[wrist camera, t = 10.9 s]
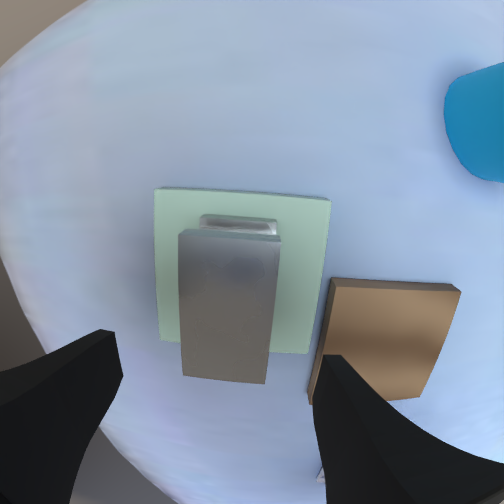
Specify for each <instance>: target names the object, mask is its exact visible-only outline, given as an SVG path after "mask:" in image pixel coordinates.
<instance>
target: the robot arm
mask: <svg viewBox="0 0 504 504" xmlns="http://www.w3.org/2000/svg"><path fill="white" fill-rule="evenodd" d="M122 378H123V372H122V368H121V363H120V358H119V353H118V348H117V343H116V338H115V332H112V331H107V330H102V329H99V330H97V331H94V332H92V333H90V334H88V335H86V336H84V337H82V338H80V339H78V340H76V341H74V342H72V343H70V344H68V345H66V346H64V347H62V348H60V349H58V350H56V351H54V352H51V353H49V354H47V355H45V356H42V357H40V358H38V359H36V360H33V361H31V362H29V363H26V364H24V365H21V366H18V367H15V368H12V369H9V370H5V371H2V372H0V504H69V502H70V498H71V494H72V489H73V486H74V482H75V479H76V476H77V472H78V470H79V467H80V464H81V461H82V459H83V456H84V453H85V451H86V448H87V446H88V444H89V442H90V440H91V438H92V437H93V435H94V433H95V431H96V429H97V428H98V426H99V424H100V422H101V421H102V419H103V417H104V416H105V414H106V412H107V410H108V409H109V407H110V405H111V403H112V401H113V400H114V398H115V396H116V393H117V391H118V388H119V386H120V383H121V380H122ZM312 404H313V418H314V426H315V431H316V436H317V441H318V446H319V451H320V456H321V461H322V466H323V467H322V469H321V471H320V473H319V475H318V477H317V479H316V480H317V482H325V487H326V501H327V504H499V503H501V502H502V501H503V500H504V464H503V463H500V462H496V461H492V460H489V459H485V458H482V457H478V456H475V455H472V454H470V453H467V452H465V451H463V450H460V449H458V448H456V447H453V446H451V445H449V444H447V443H445V442H443V441H442V440H440V439H438V438H436V437H434V436H433V435H431V434H429V433H428V432H426V431H424V430H423V429H421V428H420V427H418V426H417V425H415V424H414V423H413V422H411V421H410V420H408V419H407V418H406V417H404V416H403V415H402V414H401V413H399V412H398V411H397V410H396V409H395V408H393V407H392V406H391V405H390V404H389V403H388V402H387V401H385V400H384V399H383V398H382V397H381V396H380V395H379V394H378V393H377V392H376V391H375V390H374V389H373V388H372V387H371V386H370V385H369V384H368V383H367V382H366V381H365V380H364V379H363V378H362V377H361V376H360V375H359V374H358V373H357V372H356V370H355V369H354V368H353V367H352V366H351V365H350V364H349V363H348V362H347V361H346V360H345V359H344V357H343V356H342V355H330V354H323V357H322V362H321V366H320V370H319V374H318V377H317V381H316V385H315V389H314V393H313V396H312Z"/></svg>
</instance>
